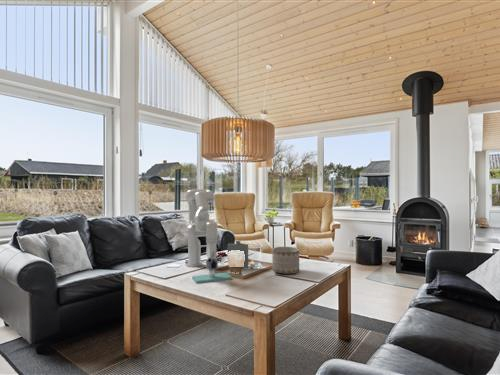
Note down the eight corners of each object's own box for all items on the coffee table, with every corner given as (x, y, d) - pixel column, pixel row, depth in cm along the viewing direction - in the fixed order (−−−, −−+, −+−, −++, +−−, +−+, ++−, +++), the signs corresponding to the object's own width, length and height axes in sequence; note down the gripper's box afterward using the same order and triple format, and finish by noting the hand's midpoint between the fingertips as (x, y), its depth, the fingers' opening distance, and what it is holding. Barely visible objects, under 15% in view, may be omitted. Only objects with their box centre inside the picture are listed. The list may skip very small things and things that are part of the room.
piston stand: (192, 278, 218) (192, 268, 218) (226, 274, 227) (226, 265, 227) (196, 283, 207) (196, 273, 207) (231, 279, 216) (231, 269, 216)
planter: (298, 268, 242) (298, 246, 242) (300, 276, 223) (300, 252, 223) (272, 268, 244) (272, 246, 244) (272, 275, 225) (272, 251, 224)
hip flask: (227, 267, 247) (227, 241, 247) (228, 265, 251) (228, 240, 251) (247, 267, 245) (247, 241, 245) (248, 266, 249) (248, 240, 249)
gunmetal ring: (205, 267, 219) (205, 259, 219) (215, 266, 222) (215, 258, 222) (207, 269, 212) (207, 262, 212) (218, 268, 215) (218, 261, 215)
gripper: (203, 238, 223) (203, 264, 223) (209, 243, 207) (209, 270, 207) (213, 238, 226) (213, 263, 226) (220, 242, 210) (221, 269, 210)
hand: (211, 266), depth 217 cm, fingers closed on gunmetal ring, 7 cm apart
